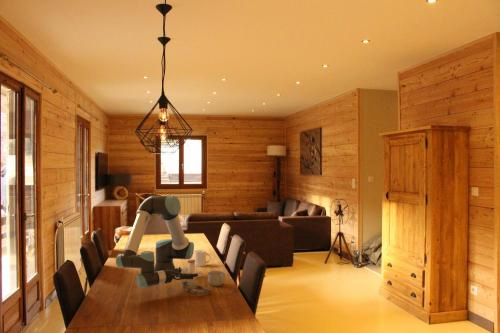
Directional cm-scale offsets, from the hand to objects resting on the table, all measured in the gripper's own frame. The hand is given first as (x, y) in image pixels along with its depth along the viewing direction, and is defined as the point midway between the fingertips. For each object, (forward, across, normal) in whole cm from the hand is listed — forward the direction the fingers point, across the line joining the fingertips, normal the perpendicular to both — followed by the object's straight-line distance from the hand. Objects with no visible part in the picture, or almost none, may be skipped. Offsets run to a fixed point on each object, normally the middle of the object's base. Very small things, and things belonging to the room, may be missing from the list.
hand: (196, 271), depth 256 cm
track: (-3, +6, -10) cm, 12 cm away
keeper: (-3, 0, -9) cm, 9 cm away
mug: (+33, -49, -10) cm, 60 cm away
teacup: (+13, +3, -10) cm, 17 cm away
